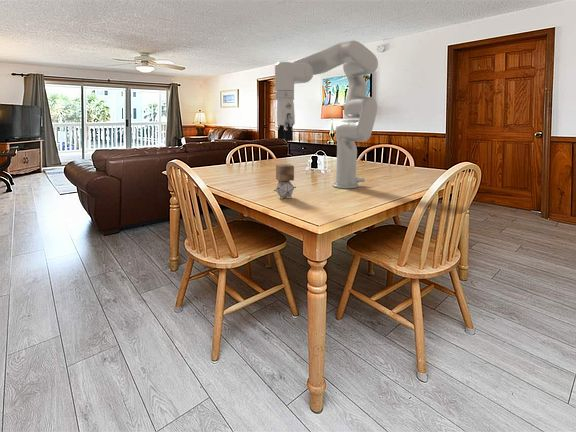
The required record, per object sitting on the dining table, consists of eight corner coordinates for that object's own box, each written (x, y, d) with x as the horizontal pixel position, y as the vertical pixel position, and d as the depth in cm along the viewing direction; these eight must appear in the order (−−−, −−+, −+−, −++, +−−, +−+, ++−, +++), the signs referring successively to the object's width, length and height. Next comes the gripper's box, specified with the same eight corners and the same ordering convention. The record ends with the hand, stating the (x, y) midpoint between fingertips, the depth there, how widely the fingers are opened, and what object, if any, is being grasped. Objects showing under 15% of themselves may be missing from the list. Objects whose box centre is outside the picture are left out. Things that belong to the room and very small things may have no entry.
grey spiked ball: (288, 207, 153) (292, 191, 145) (269, 199, 154) (273, 183, 146) (295, 193, 159) (300, 178, 151) (277, 186, 159) (281, 170, 152)
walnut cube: (289, 178, 155) (289, 164, 153) (293, 180, 149) (293, 165, 148) (276, 178, 153) (276, 164, 151) (280, 181, 148) (279, 166, 146)
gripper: (301, 95, 135) (300, 141, 140) (287, 97, 151) (287, 138, 156) (281, 94, 133) (282, 141, 138) (269, 96, 149) (270, 138, 154)
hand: (284, 140), depth 147 cm, fingers open, 9 cm apart
